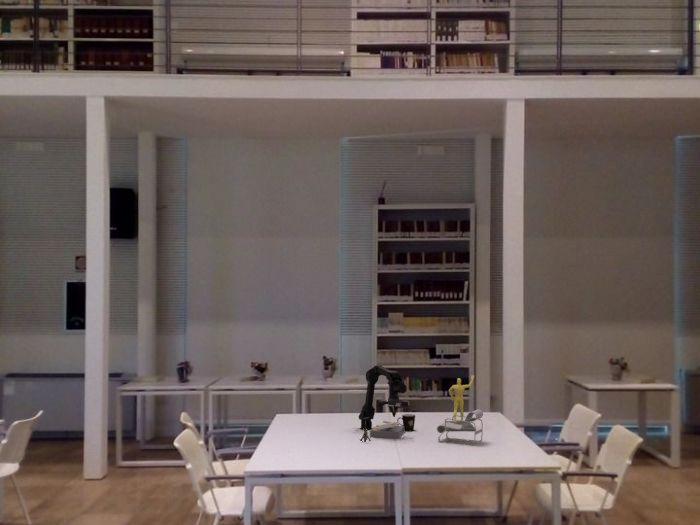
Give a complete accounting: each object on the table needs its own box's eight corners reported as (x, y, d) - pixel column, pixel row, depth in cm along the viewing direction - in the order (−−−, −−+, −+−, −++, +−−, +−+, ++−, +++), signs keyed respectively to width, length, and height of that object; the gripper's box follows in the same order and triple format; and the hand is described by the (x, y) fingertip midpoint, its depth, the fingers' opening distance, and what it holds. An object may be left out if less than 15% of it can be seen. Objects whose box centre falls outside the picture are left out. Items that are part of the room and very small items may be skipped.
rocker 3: (382, 422, 515) (383, 420, 515) (384, 421, 519) (384, 419, 519) (398, 425, 512) (398, 423, 512) (399, 424, 516) (399, 422, 516)
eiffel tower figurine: (358, 439, 498) (358, 417, 498) (375, 439, 496) (374, 418, 496) (354, 443, 483) (354, 421, 483) (370, 444, 481) (370, 422, 481)
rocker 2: (378, 429, 501) (378, 427, 501) (380, 428, 505) (379, 426, 505) (394, 426, 499) (393, 424, 499) (395, 425, 503) (395, 423, 503)
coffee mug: (415, 429, 528) (415, 414, 528) (415, 431, 519) (415, 416, 519) (397, 429, 529) (397, 413, 529) (397, 431, 520) (397, 416, 521)
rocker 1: (381, 427, 508) (380, 425, 508) (382, 426, 512) (382, 424, 512) (396, 424, 506) (395, 422, 506) (397, 423, 509) (397, 421, 510)
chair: (476, 446, 474) (476, 412, 475) (436, 442, 486) (436, 409, 486) (483, 442, 486) (483, 409, 487) (444, 438, 498) (444, 406, 498)
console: (370, 437, 500) (370, 428, 500) (377, 431, 522) (377, 422, 522) (398, 438, 496) (398, 429, 496) (404, 432, 517) (404, 423, 517)
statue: (472, 426, 541) (471, 373, 542) (477, 431, 521) (477, 376, 522) (442, 426, 540) (441, 373, 541) (446, 431, 521) (446, 376, 522)
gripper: (376, 393, 497) (377, 418, 496) (406, 393, 492) (406, 419, 492) (380, 391, 507) (380, 415, 507) (409, 391, 503) (409, 416, 503)
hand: (394, 416), depth 502 cm, fingers closed
